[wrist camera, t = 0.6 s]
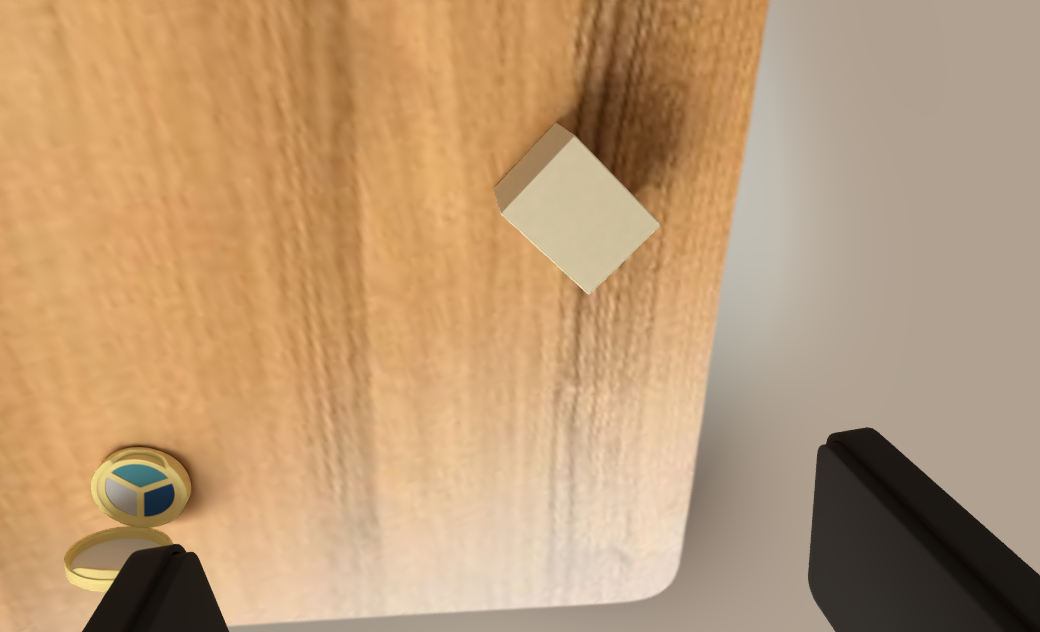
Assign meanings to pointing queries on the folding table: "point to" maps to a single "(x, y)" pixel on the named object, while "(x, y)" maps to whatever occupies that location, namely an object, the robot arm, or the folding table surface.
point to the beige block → (573, 208)
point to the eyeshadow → (128, 513)
